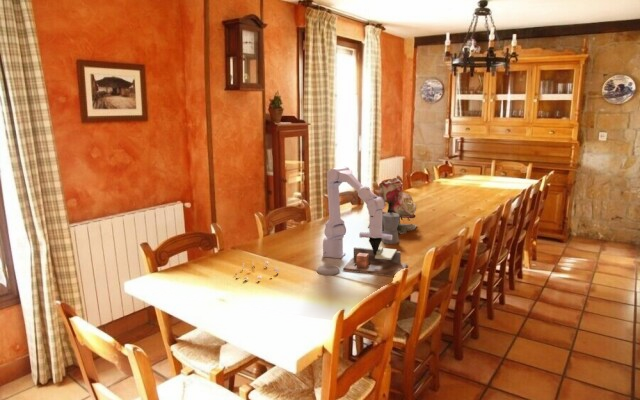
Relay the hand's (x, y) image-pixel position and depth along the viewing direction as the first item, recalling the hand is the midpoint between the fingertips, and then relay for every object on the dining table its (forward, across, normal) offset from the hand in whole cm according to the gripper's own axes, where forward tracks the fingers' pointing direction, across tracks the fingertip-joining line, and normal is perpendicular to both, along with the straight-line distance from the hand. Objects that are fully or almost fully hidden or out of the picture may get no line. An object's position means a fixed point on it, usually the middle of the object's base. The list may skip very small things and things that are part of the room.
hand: (375, 253), depth 206 cm
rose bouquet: (+7, -5, +74) cm, 74 cm away
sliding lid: (0, +5, 0) cm, 5 cm away
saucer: (+7, -19, -10) cm, 23 cm away
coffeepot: (+7, -3, +44) cm, 44 cm away
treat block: (+7, -6, 0) cm, 9 cm away
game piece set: (+7, -48, -24) cm, 54 cm away
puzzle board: (+7, 0, 0) cm, 7 cm away
